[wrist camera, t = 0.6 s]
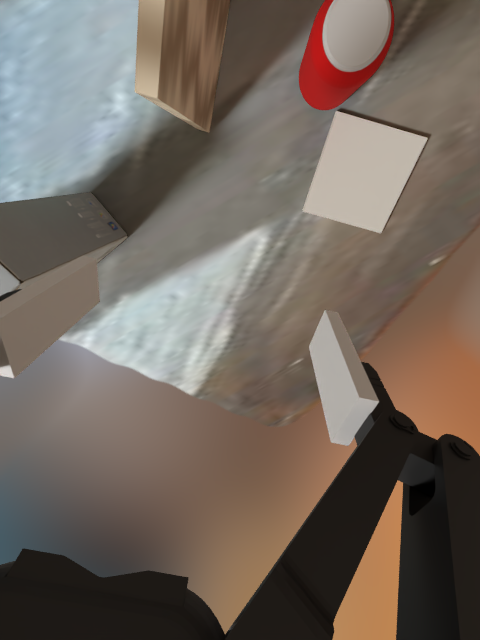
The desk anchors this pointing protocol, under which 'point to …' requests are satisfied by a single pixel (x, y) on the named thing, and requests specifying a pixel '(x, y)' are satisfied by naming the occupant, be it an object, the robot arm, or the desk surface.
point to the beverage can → (344, 49)
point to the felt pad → (362, 171)
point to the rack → (181, 56)
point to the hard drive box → (52, 236)
